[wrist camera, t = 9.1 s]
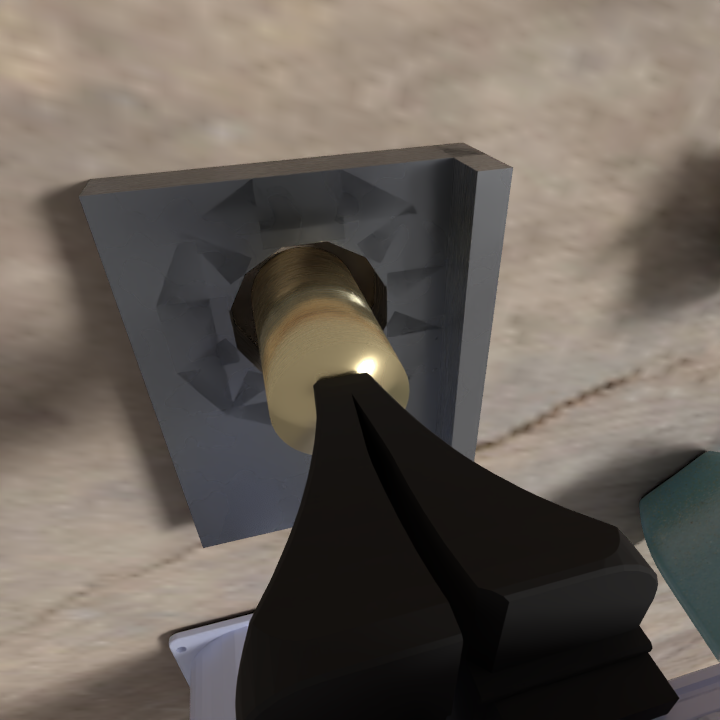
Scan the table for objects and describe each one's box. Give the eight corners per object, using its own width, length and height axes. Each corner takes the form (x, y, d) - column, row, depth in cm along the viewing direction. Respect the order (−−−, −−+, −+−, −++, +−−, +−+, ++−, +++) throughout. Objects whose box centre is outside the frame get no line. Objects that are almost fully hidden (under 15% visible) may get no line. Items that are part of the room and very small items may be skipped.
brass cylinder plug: (356, 332, 19) (408, 441, 14) (259, 348, 18) (278, 468, 13) (352, 240, 17) (411, 331, 12) (242, 254, 16) (259, 356, 11)
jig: (438, 465, 24) (466, 518, 22) (203, 517, 22) (203, 582, 20) (463, 142, 16) (512, 167, 13) (90, 179, 14) (64, 216, 11)
